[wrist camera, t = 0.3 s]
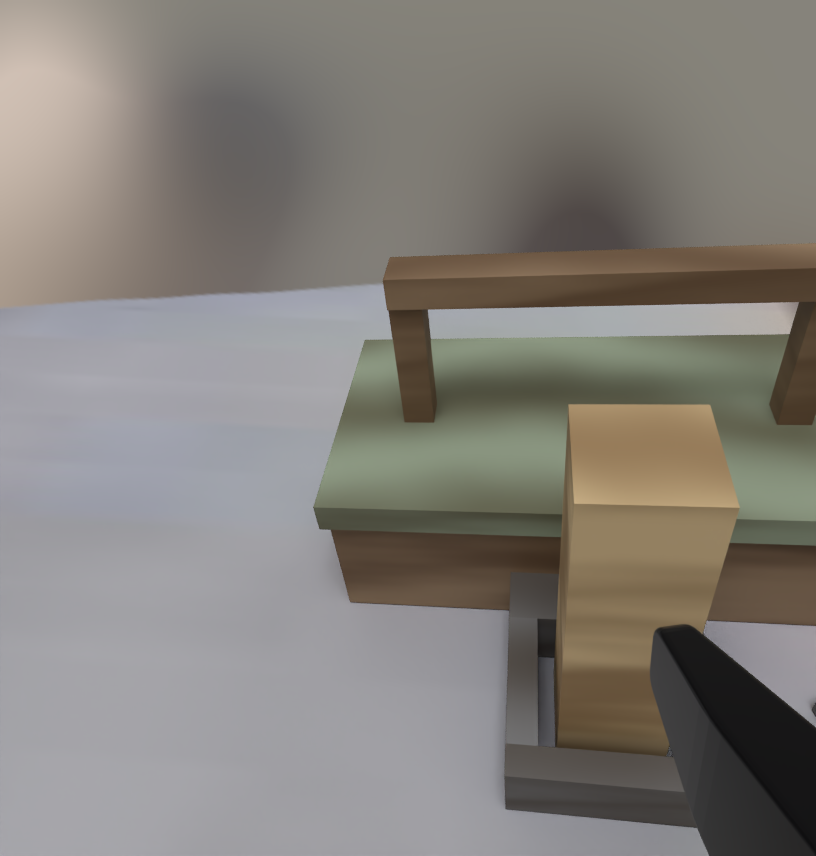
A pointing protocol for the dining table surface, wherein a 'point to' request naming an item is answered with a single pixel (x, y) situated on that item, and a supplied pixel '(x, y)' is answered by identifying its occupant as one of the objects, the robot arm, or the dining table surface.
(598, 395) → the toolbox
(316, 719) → the dining table surface
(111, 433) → the dining table surface
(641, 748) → the tan tall rectangular block
